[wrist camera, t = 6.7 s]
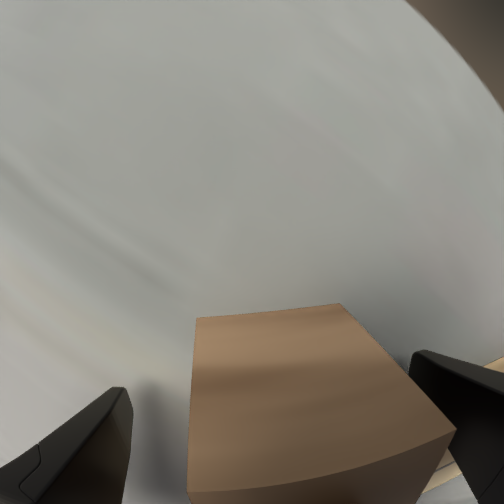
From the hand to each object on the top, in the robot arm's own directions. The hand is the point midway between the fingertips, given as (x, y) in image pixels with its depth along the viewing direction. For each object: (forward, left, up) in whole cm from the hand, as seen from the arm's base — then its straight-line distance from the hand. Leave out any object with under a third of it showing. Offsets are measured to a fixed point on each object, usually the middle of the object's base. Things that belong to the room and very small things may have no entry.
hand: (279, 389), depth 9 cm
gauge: (-4, 0, -1) cm, 4 cm away
